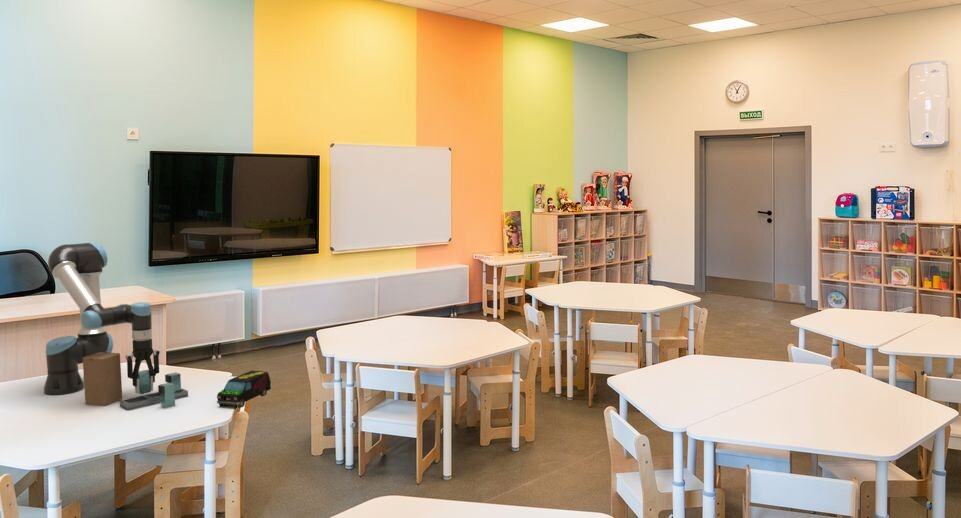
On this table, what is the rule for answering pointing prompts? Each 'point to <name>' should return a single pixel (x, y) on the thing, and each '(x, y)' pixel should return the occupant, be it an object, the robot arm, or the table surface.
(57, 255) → the robot arm
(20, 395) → the table surface
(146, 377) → the teal rectangular block
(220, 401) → the toy van
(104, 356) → the wooden block
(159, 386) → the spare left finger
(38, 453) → the table surface
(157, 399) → the rail
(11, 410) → the table surface
